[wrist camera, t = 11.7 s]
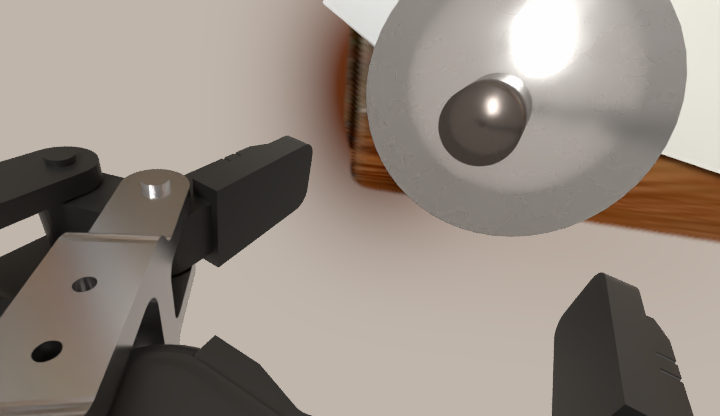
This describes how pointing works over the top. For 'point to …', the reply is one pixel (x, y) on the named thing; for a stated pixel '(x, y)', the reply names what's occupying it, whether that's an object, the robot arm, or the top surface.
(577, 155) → the cover
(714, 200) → the top surface
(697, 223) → the top surface
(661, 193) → the top surface
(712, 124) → the mat
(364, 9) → the supplement box
